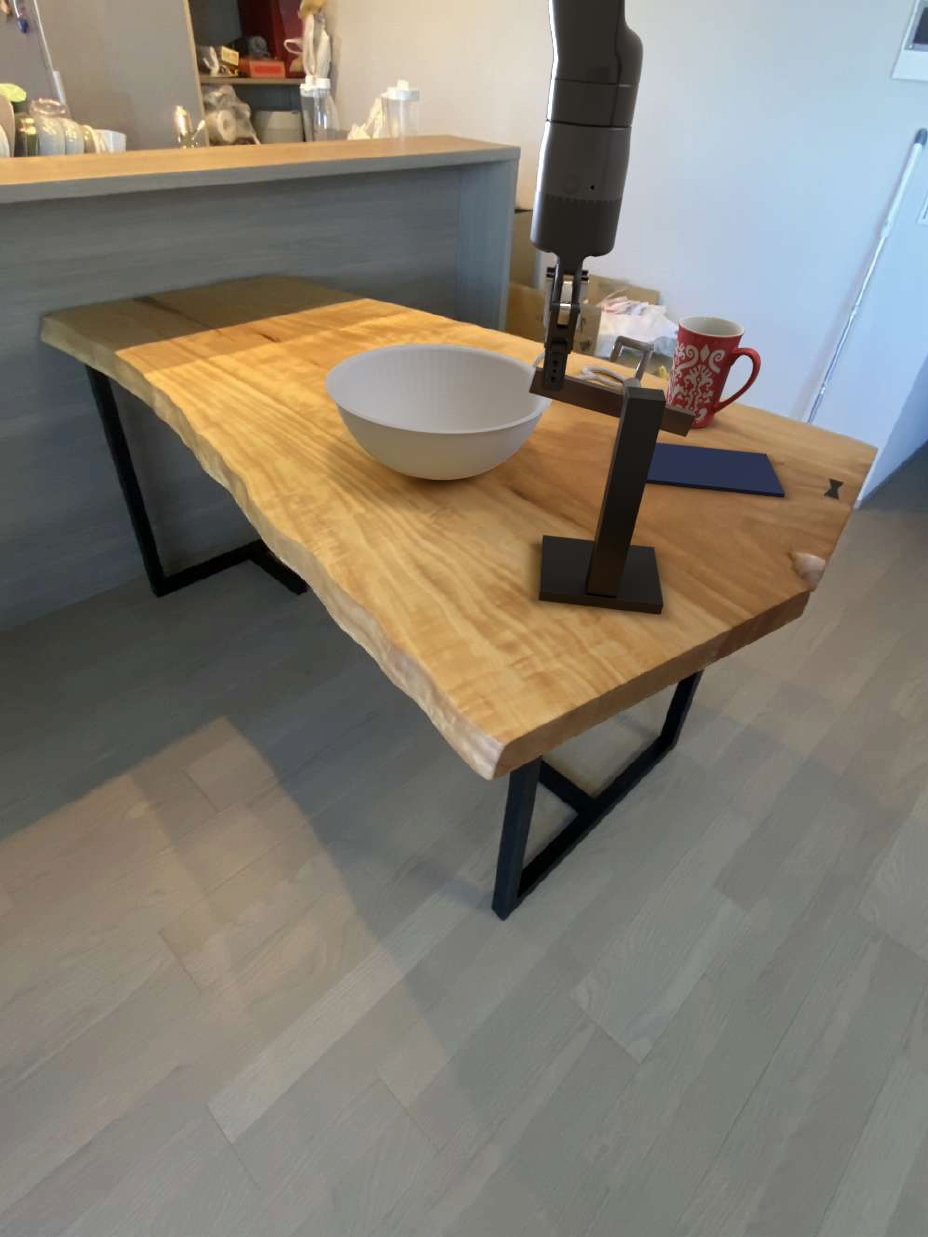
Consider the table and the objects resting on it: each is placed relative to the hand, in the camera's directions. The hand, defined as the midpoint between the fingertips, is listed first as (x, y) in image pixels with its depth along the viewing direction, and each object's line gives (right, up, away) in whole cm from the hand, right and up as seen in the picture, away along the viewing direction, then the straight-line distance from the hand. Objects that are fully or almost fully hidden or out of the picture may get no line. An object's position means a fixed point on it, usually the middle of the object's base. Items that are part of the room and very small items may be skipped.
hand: (551, 385), depth 70 cm
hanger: (+6, -3, +1) cm, 6 cm away
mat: (+22, -4, +21) cm, 31 cm away
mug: (+26, +5, +33) cm, 42 cm away
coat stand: (+5, -19, +1) cm, 20 cm away
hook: (+9, +13, +40) cm, 43 cm away
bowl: (-12, -3, +19) cm, 23 cm away
